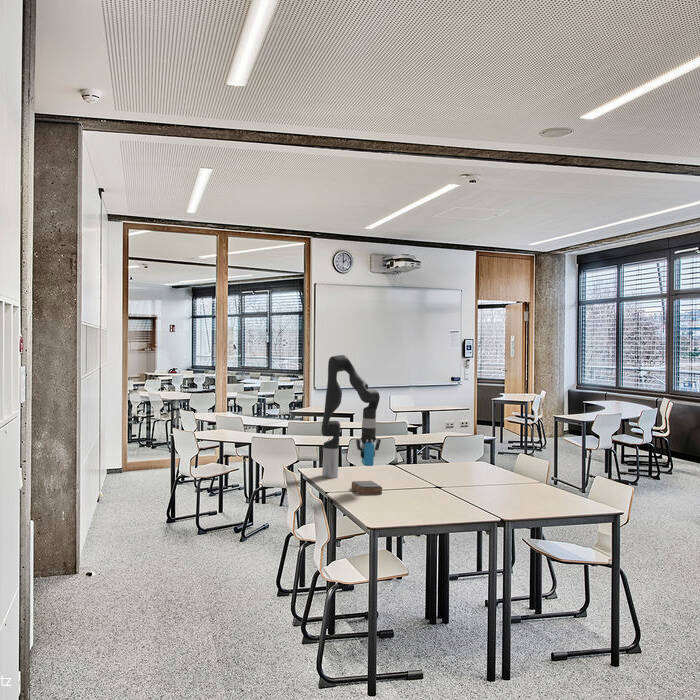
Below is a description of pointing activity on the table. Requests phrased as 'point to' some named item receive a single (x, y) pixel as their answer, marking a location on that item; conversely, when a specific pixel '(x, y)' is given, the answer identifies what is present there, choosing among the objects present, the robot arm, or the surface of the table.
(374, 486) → the stand
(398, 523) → the table surface
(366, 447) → the blue rectangular block
